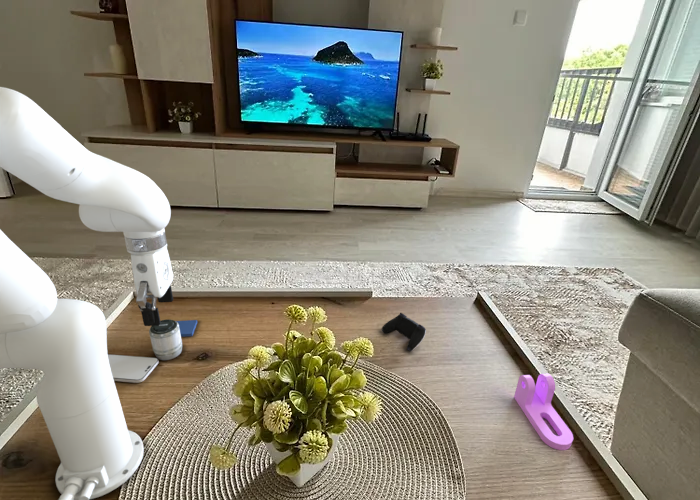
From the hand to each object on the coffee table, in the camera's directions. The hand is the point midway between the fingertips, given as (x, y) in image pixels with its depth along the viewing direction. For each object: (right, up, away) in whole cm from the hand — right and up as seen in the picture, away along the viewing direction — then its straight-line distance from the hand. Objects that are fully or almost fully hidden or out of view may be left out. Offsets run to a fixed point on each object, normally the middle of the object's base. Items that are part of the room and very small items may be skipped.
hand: (159, 312), depth 88 cm
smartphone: (-9, -13, 0) cm, 15 cm away
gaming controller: (+56, -9, +13) cm, 58 cm away
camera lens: (0, -10, +5) cm, 12 cm away
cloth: (-1, -7, +14) cm, 15 cm away
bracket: (+80, -20, -10) cm, 83 cm away
